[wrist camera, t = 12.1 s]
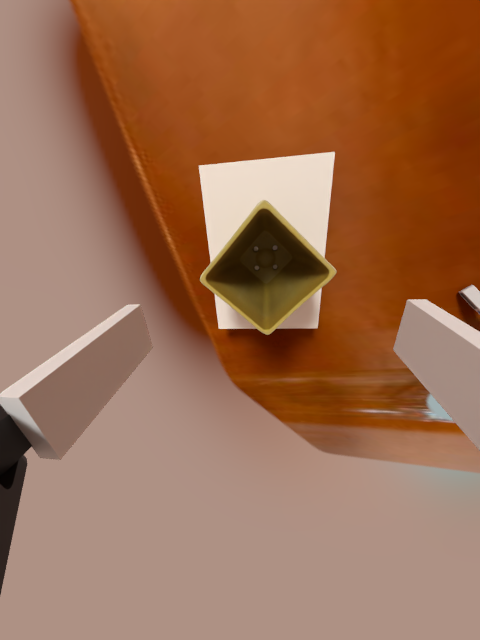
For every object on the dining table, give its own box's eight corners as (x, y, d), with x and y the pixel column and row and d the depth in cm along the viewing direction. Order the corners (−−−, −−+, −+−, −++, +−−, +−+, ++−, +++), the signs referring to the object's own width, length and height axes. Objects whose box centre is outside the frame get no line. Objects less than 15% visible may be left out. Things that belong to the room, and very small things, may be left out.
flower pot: (264, 199, 25) (263, 196, 17) (318, 253, 27) (339, 273, 19) (216, 259, 29) (197, 279, 21) (267, 303, 30) (266, 337, 22)
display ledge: (325, 159, 26) (334, 151, 22) (312, 315, 35) (317, 328, 31) (207, 170, 28) (198, 165, 24) (223, 316, 37) (218, 328, 33)
